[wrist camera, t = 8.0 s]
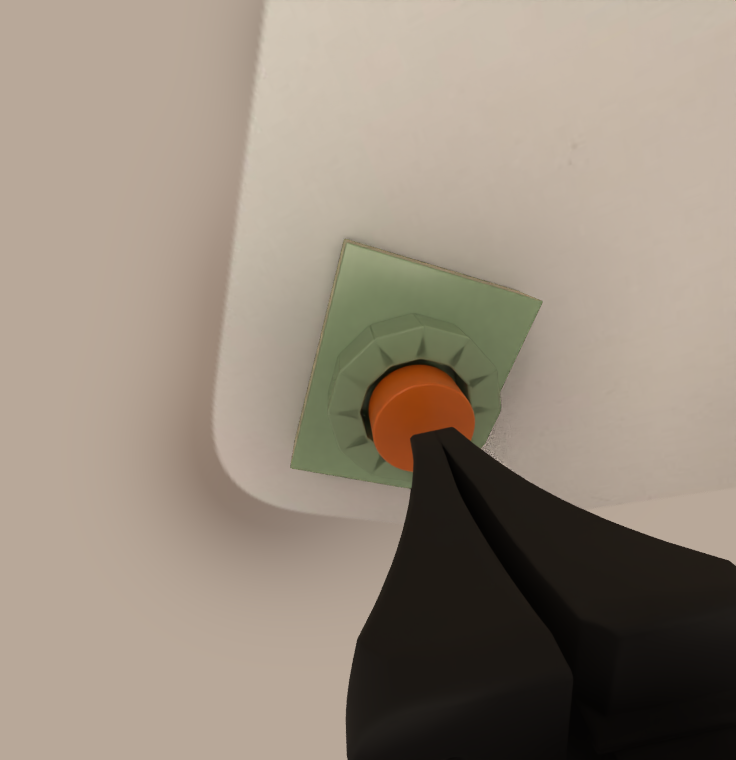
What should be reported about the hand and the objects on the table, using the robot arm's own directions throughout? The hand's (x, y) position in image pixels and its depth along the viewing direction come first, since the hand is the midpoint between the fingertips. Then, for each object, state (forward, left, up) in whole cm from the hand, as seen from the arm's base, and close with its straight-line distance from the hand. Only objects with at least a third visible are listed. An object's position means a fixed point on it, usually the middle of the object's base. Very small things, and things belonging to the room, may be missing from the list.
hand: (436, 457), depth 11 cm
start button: (0, 0, -3) cm, 3 cm away
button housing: (0, 0, -7) cm, 7 cm away
